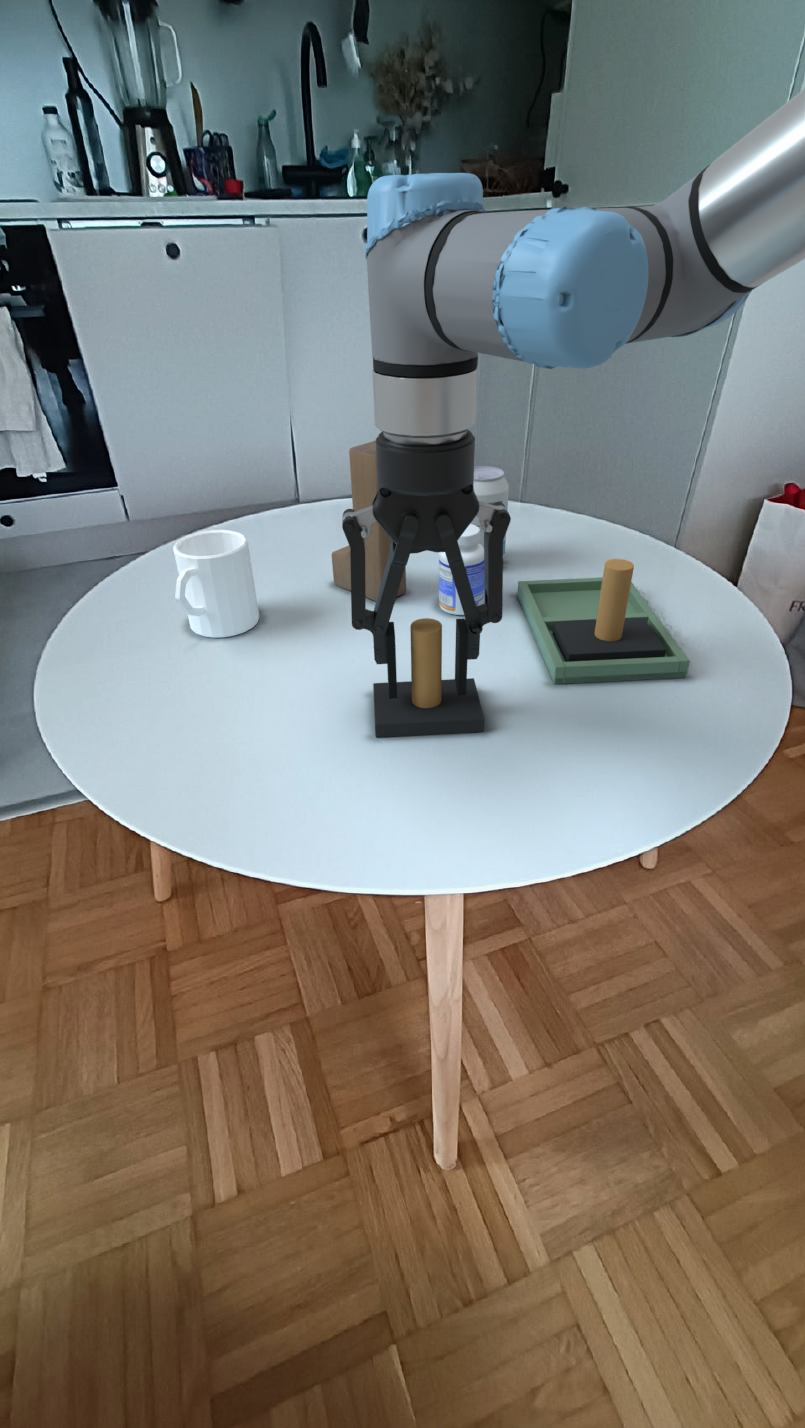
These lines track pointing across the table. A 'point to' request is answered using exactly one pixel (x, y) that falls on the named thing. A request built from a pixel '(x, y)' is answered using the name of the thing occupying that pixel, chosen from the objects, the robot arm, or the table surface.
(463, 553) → the pill bottle
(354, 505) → the wooden block
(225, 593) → the mug
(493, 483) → the beverage can
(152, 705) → the table surface
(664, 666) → the pad holder
